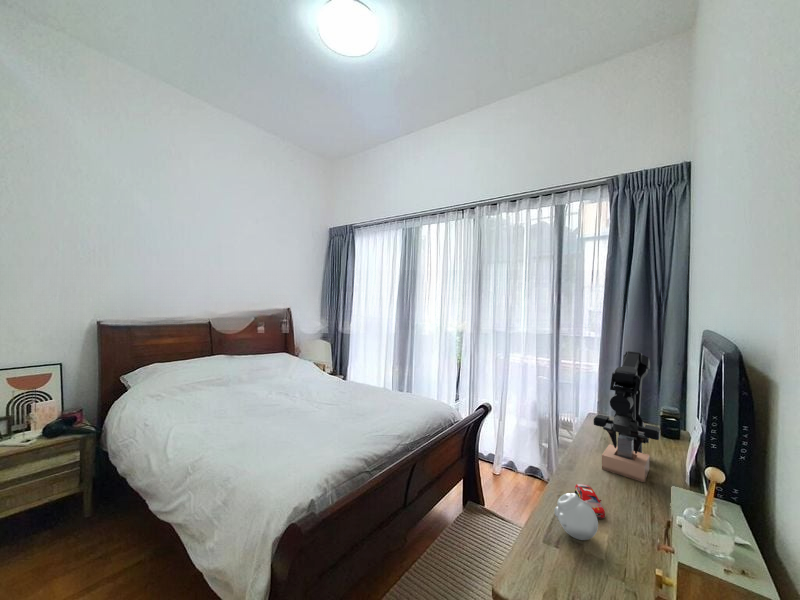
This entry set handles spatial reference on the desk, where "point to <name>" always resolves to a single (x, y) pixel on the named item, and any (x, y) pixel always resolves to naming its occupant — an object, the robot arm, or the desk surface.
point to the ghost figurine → (576, 516)
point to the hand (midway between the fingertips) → (625, 450)
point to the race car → (590, 499)
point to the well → (626, 464)
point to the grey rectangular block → (625, 447)
